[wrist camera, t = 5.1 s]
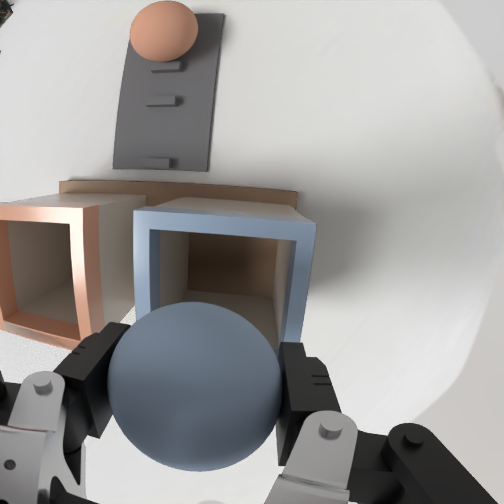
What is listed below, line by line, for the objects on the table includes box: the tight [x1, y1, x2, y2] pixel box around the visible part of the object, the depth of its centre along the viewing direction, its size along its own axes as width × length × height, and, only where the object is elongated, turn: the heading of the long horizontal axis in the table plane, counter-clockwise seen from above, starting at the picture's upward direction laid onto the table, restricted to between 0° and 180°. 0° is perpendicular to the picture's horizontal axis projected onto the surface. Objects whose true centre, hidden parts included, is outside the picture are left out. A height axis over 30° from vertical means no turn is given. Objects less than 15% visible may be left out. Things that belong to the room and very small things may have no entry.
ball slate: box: [107, 302, 283, 472], centre depth 9 cm, size 5×5×5 cm
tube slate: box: [133, 197, 317, 359], centre depth 19 cm, size 8×8×10 cm
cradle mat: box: [113, 14, 224, 172], centre depth 22 cm, size 14×8×1 cm, turn 175°
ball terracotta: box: [130, 1, 198, 62], centre depth 18 cm, size 5×5×5 cm
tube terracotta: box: [0, 193, 146, 350], centre depth 19 cm, size 8×8×10 cm
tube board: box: [59, 181, 298, 297], centre depth 25 cm, size 10×20×1 cm, turn 85°
